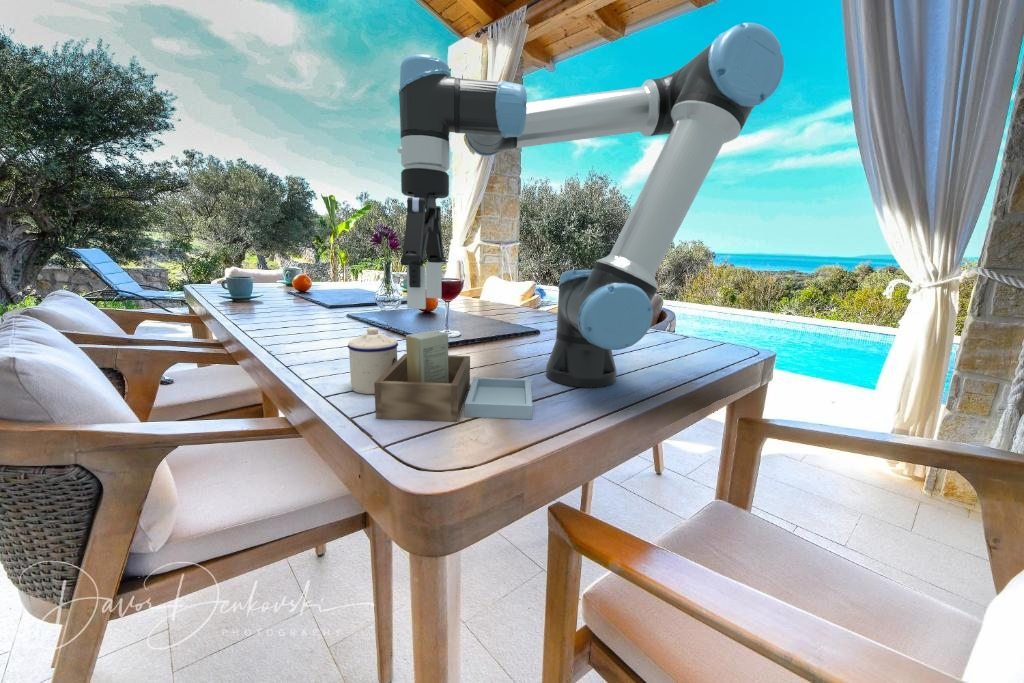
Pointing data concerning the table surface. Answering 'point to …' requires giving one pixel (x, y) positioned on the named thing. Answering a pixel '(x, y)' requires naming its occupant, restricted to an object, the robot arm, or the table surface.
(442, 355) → the skincare box
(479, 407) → the tray
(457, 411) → the caddy
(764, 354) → the table surface
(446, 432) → the table surface
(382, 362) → the cream lidded jar
